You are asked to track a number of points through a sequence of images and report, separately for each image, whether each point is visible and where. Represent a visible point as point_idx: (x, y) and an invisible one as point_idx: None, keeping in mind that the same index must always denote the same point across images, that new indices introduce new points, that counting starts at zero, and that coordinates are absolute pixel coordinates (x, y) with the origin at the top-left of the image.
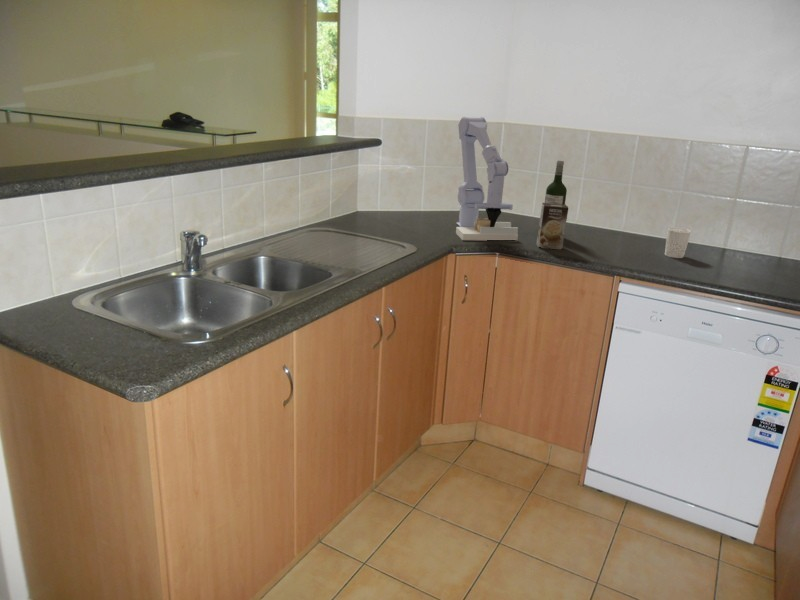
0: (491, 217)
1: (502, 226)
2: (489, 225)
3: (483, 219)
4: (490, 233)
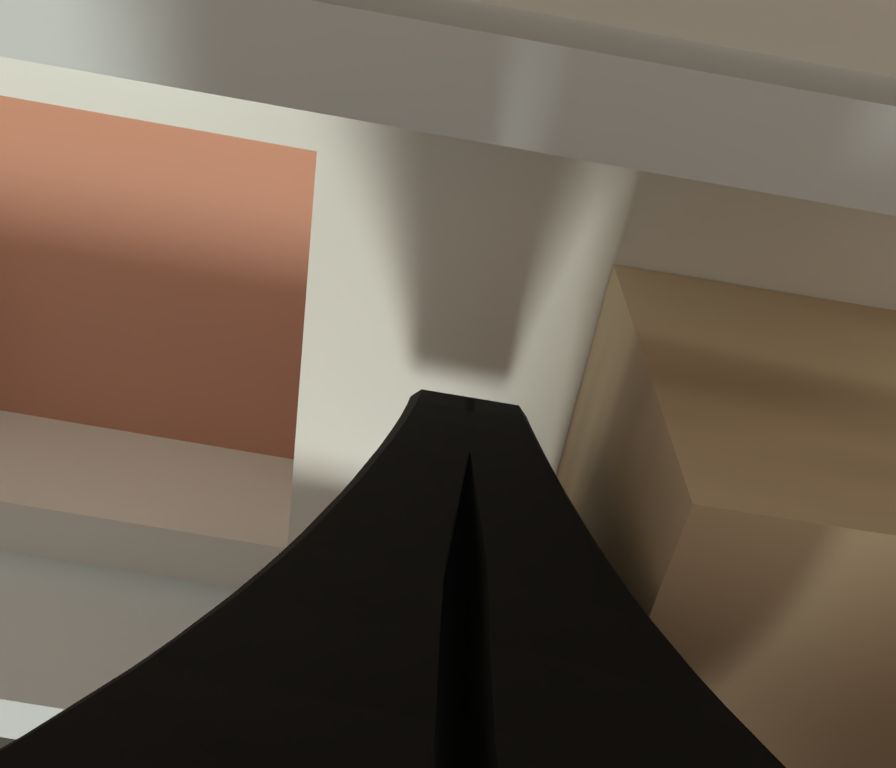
0: (642, 683)
1: (29, 598)
2: (675, 375)
3: (868, 746)
4: (705, 46)
